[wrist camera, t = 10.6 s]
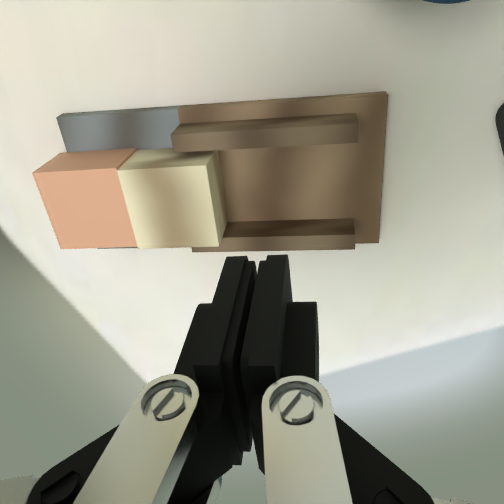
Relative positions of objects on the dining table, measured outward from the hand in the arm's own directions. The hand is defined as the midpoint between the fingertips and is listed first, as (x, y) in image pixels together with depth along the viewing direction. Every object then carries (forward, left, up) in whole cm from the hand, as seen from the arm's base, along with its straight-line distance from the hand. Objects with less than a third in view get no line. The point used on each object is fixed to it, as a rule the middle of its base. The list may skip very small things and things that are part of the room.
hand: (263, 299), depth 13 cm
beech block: (+8, +5, -21) cm, 23 cm away
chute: (+5, +5, -22) cm, 23 cm away
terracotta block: (+14, +5, -21) cm, 26 cm away
